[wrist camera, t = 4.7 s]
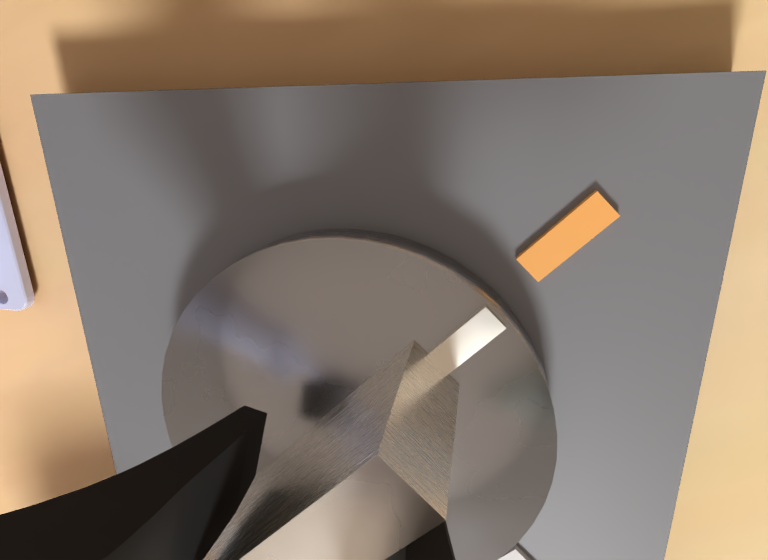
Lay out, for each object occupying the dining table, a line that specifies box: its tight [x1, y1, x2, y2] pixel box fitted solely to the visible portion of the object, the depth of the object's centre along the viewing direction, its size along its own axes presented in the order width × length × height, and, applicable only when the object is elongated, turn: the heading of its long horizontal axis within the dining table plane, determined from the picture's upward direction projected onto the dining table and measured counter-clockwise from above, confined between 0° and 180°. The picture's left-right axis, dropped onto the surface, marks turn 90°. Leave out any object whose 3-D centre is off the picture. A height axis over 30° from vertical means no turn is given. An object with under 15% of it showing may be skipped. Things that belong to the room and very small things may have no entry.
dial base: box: [30, 71, 766, 560], centre depth 15 cm, size 18×18×2 cm
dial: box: [161, 229, 557, 560], centre depth 12 cm, size 11×11×6 cm
